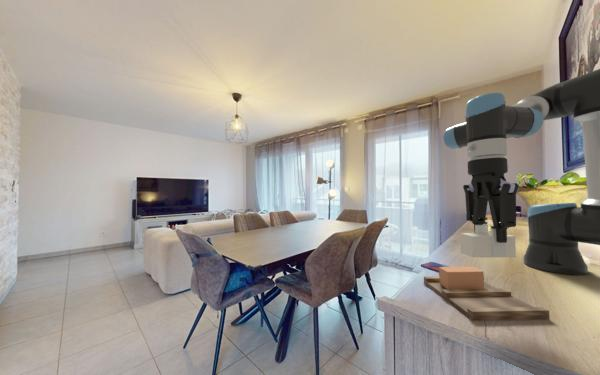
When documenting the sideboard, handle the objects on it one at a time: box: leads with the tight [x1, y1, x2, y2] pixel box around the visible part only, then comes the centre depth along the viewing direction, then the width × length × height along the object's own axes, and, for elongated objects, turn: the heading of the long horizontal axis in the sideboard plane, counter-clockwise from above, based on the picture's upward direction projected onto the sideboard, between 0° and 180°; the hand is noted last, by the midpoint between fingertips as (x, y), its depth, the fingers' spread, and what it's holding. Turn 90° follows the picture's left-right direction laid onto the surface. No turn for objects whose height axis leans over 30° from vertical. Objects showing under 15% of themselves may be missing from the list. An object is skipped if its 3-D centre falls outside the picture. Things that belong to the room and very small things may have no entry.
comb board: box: [423, 275, 551, 322], centre depth 59 cm, size 17×20×2 cm
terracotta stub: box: [438, 266, 485, 289], centre depth 64 cm, size 10×4×5 cm, turn 88°
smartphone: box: [420, 261, 451, 273], centre depth 79 cm, size 7×15×1 cm, turn 25°
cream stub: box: [460, 232, 517, 258], centre depth 54 cm, size 10×4×5 cm, turn 89°
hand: (490, 252), depth 54 cm, fingers closed on cream stub, 4 cm apart
